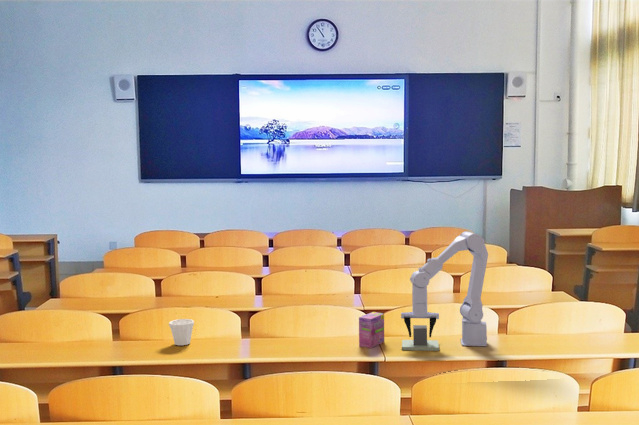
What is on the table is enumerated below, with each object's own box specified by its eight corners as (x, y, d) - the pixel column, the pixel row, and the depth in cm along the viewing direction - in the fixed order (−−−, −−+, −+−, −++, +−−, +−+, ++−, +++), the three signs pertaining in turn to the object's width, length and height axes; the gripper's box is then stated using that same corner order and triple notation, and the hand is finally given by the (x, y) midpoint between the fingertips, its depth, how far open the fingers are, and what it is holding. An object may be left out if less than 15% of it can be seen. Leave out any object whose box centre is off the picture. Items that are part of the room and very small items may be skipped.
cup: (197, 340, 260) (197, 318, 260) (190, 347, 250) (189, 325, 250) (174, 340, 261) (173, 318, 261) (166, 347, 251) (165, 324, 251)
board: (438, 343, 248) (438, 340, 248) (438, 350, 239) (438, 347, 238) (402, 342, 251) (402, 339, 251) (401, 350, 241) (401, 346, 241)
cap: (426, 341, 247) (426, 325, 246) (427, 345, 242) (426, 328, 241) (413, 341, 248) (413, 325, 247) (413, 345, 242) (413, 328, 242)
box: (371, 348, 244) (370, 318, 243) (358, 346, 247) (358, 316, 246) (385, 342, 252) (384, 313, 251) (372, 340, 255) (372, 311, 255)
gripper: (438, 300, 246) (438, 334, 247) (401, 299, 248) (401, 333, 249) (439, 304, 239) (439, 339, 240) (400, 303, 241) (401, 338, 242)
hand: (420, 336), depth 244 cm, fingers open, 7 cm apart
